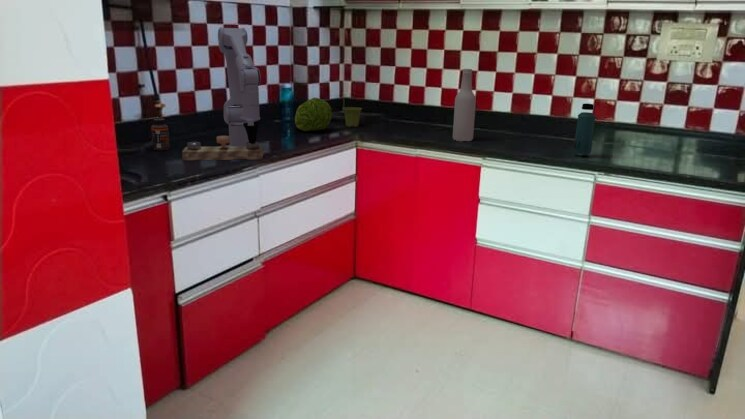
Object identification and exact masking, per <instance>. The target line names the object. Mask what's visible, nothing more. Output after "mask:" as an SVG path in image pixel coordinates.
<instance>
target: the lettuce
mask: <svg viewBox="0 0 745 419" xmlns="http://www.w3.org/2000/svg"><path fill="white" fill-rule="evenodd" d="M332 118H333V112H332V107H331V105H330V104H329V103H328V101H326V100H323V99H321V98H319V97H313V98H312V97H311V98H310V99H308V100H306V101H305V102H303V103H300V105H299V106H298V108H296V112H295V116H294V124H295V126H296V128H297V129H299V130H301V131H302V132H310V131H311V132H318V131H321V130H325V129H327V127H329V124H330V123H331V120H332Z"/></svg>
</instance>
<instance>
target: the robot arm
mask: <svg viewBox="0 0 745 419" xmlns="http://www.w3.org/2000/svg"><path fill="white" fill-rule="evenodd" d="M217 42H218V49H219V52H220V53H222V54H224V57H225V64H226V65H225V66H226V73H227V82H228V83H227V84H228V90H229V99H227V100H226V101H225V102H224V104H223V119H224V122H225V123H226V124H227V125H228V136H229V137H230V143H229V144H228V145H227V144H226V146H246V143H247V142H249V143H255V142H257V135H258V134H257V133H258V130H259V127H260V126H261V122H260V121H259V120H261V116H260V94H259V93H260V91H259V89H260V88H259V86H260V85H261V83H262V82H261V79H262V78H261V72H260V69H259V68H257V67H256V66H255V65H254V61H253V59H252V56H251V55H250V54H248V53H247V49H246V47H247V44H248V31H247V29H246V28H245V27H241V28H239V27H238V28H236V27H222V26H221V27H219V28H218V31H217Z"/></svg>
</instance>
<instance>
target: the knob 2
mask: <svg viewBox="0 0 745 419" xmlns="http://www.w3.org/2000/svg"><path fill="white" fill-rule="evenodd" d="M259 146H260V143H259V141H256V142H255V143H249V142H247V143H246V149H250V150H255V149H259Z"/></svg>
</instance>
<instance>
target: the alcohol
mask: <svg viewBox="0 0 745 419" xmlns="http://www.w3.org/2000/svg"><path fill="white" fill-rule="evenodd" d="M472 82H473V69H471V68H463V69H462V77H461V85H460V89H459V92H457V94H456V96H455V98H454V109H453V110H454V111H453V127H452V139H453V141H455V140H456V142H463V141H467V142H471V141H472V140H474V133H475V132H474V131H475V130H474V129H475V116H476V103H477V99H476V94H474V92H473V88H472V87H473V86H472V84H473V83H472Z"/></svg>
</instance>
